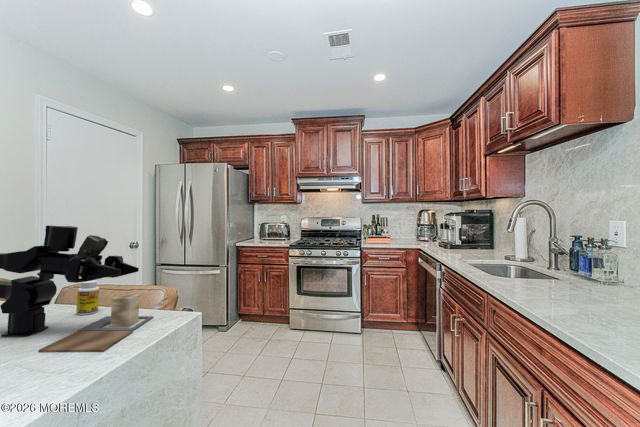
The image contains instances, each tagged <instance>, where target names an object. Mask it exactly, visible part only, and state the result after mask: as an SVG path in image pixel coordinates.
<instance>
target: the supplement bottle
mask: <svg viewBox="0 0 640 427" xmlns="http://www.w3.org/2000/svg"><path fill="white" fill-rule="evenodd" d="M80 283H81V285H80V287H79V288H78V289H77V294H76V295H77V298H76V315H78V316H89V315H93V314H96V313H97V312H98V311H99V299H100V287H99V286H98V281H97V280H92V281H87V282H80Z"/></svg>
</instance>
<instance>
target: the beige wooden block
mask: <svg viewBox="0 0 640 427" xmlns="http://www.w3.org/2000/svg"><path fill="white" fill-rule="evenodd" d="M140 296H141V295H140V294H129V293H126V294H119V295H117V296H115V297H113V298H111V310H110V312H111V313H110V316H111V323H110V324H109V325H110V327H109V328H130V327H131V326H132V325H135V324H136V323H137V322H139V319H138V317H139V314H140Z"/></svg>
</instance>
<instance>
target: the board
mask: <svg viewBox="0 0 640 427" xmlns="http://www.w3.org/2000/svg"><path fill="white" fill-rule="evenodd" d="M133 333H134V331H78V330H77V331H75V332H73V333H70V334H69V335H65V337H62V338H61V339H59V340H56V341H54V342H52V343H50V344H48V345H46V346H44V347H41V348H40V349H38V350H37V351H38V353H105V352H106V351H107V350H109V349H111V348H112V347H113V346H115V345H116V344H118V343H119V342H121V341H122V340H124V339H126V338H127V337H129V336H130V335H132V334H133Z"/></svg>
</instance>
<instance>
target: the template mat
mask: <svg viewBox="0 0 640 427" xmlns="http://www.w3.org/2000/svg"><path fill="white" fill-rule="evenodd" d="M152 319H154V316H151V315H150V316H148V315H144V316H143V315H140V316H139V317H138V320H142V321H141V322H139V323H137V324H136V325H134V326H132V327H106V326H107V325H111V315H110V316H109V315H106V316H104V317H102V318H100V319H98V320H95V321H94V322H91V323H90V324H87V325H86V326H83V327H81V328H79V329H77V331H133V332H134V331H136V330H137V329H139V328H141V327H143V326H144V325H145V324H147V323H148V322H150V321H151V320H152Z"/></svg>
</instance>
